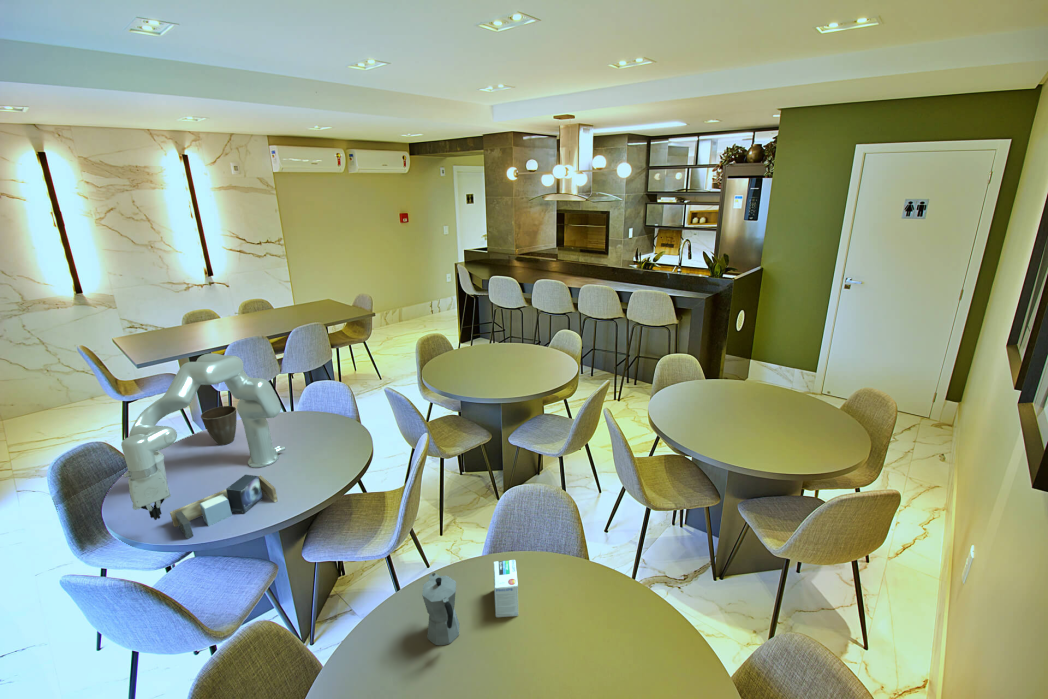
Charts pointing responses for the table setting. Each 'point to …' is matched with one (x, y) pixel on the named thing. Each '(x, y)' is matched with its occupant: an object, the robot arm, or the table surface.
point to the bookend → (184, 524)
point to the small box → (244, 494)
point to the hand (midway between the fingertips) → (156, 517)
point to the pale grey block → (215, 510)
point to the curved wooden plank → (194, 508)
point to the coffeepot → (441, 609)
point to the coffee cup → (160, 462)
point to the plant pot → (221, 424)
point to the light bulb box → (506, 588)
